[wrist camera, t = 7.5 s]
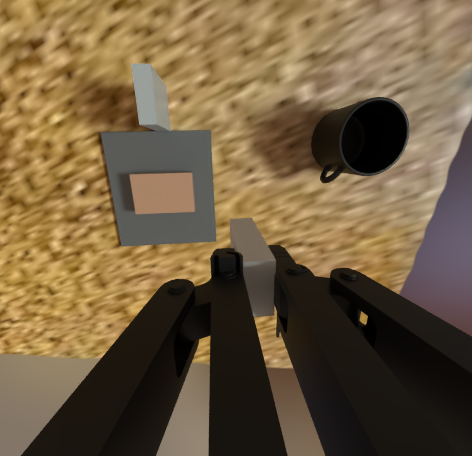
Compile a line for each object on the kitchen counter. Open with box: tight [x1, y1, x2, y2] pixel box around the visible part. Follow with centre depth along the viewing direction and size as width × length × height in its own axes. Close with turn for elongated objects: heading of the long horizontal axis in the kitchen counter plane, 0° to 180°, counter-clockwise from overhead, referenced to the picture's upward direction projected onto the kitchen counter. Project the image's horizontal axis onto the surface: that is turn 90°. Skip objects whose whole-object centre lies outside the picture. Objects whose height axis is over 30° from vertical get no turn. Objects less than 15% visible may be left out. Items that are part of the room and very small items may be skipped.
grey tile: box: [131, 64, 171, 131], centre depth 30 cm, size 6×2×9 cm, turn 1°
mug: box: [312, 97, 409, 183], centre depth 34 cm, size 9×12×9 cm
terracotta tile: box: [130, 172, 196, 214], centre depth 37 cm, size 6×2×9 cm
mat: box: [101, 130, 216, 246], centre depth 38 cm, size 18×16×1 cm
